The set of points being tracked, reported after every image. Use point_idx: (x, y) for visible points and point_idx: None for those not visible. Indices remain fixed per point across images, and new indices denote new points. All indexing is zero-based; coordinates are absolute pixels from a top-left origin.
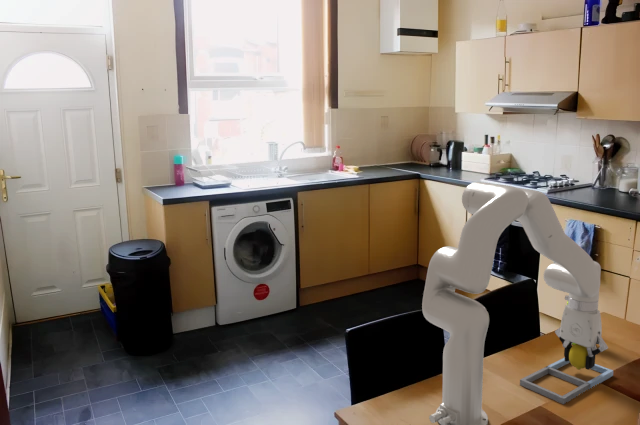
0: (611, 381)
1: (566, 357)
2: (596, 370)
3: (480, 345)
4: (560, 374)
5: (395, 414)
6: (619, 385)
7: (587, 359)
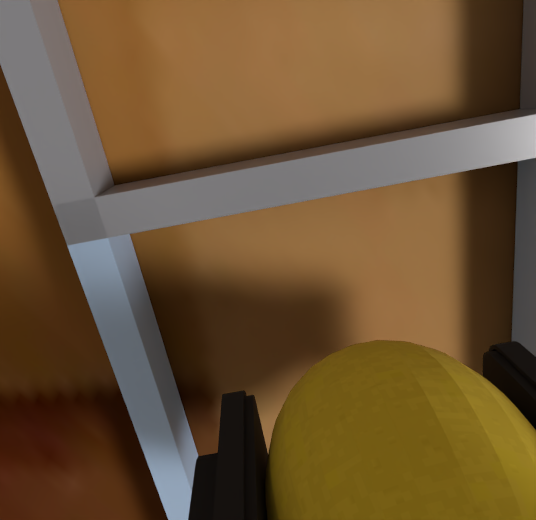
0: (130, 464)
1: (525, 376)
2: None
3: None
4: (395, 138)
5: None
6: (56, 465)
7: (227, 503)
